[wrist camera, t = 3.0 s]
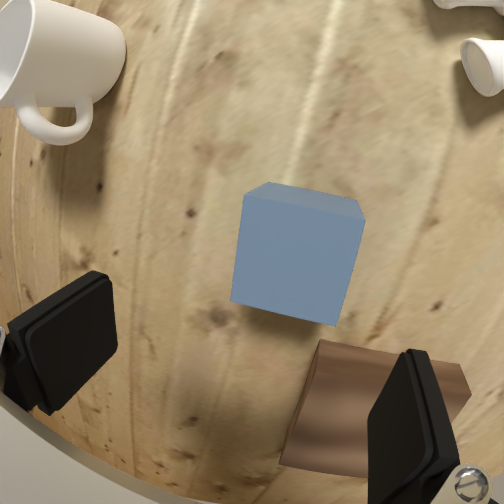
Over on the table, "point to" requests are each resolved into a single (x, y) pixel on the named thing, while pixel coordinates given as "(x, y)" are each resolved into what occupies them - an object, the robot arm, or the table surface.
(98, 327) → the robot arm
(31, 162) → the table surface
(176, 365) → the table surface
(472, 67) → the binoculars
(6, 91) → the mug
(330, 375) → the walnut base
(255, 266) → the slate cube
